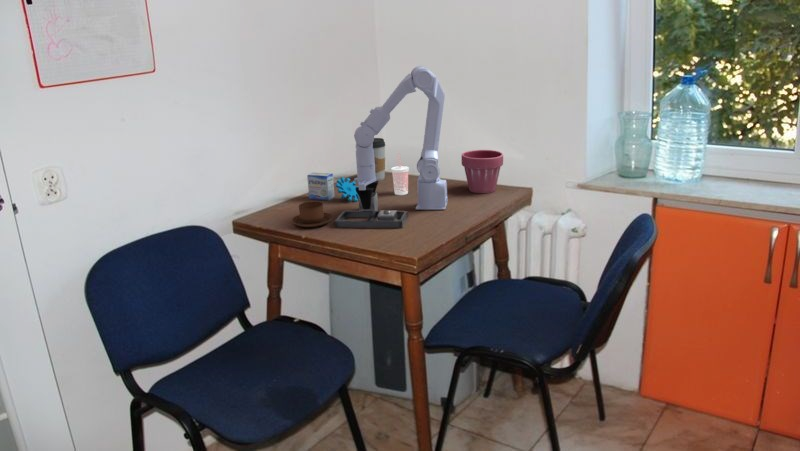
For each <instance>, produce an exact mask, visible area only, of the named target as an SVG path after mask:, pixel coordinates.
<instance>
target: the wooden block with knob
mask: <svg viewBox="0 0 800 451" xmlns="http://www.w3.org/2000/svg"><path fill="white" fill-rule="evenodd" d="M379 211H380V212H379V214H378V218H377V221H398V218H397V211H398V210H391V209H389V210H388V209H386V210H382V209H381V210H379Z"/></svg>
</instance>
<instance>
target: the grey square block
mask: <svg viewBox="0 0 800 451" xmlns="http://www.w3.org/2000/svg"><path fill="white" fill-rule="evenodd" d="M358 198H359V200H358V211H379V210H378V209H379V203H378V202H379V200H378V192H372V196H371V206H370V209H363V207H362V203H361V200H360V197H358Z"/></svg>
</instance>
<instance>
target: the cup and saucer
mask: <svg viewBox="0 0 800 451" xmlns="http://www.w3.org/2000/svg"><path fill="white" fill-rule="evenodd" d="M298 211H299V212H298V213H299V215H298V214H297V215H296V216H294V217H292V223H294V225H296V226H298V227H302V228H316V227H321V226H324V225H326V224H328V223H329V222H330V221H331V220H332V215H331V214H330V213H327V212H324V203H323V202H321V201H317V200H316V201H315V200H314V201H306V202H303V203H302V202H301V203H300V204H299V205H298Z"/></svg>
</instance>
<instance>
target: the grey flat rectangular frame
mask: <svg viewBox="0 0 800 451" xmlns="http://www.w3.org/2000/svg"><path fill="white" fill-rule="evenodd" d="M380 211H381V210H377V211H359V210H343V211H342V212H341V213H340V214H339V215H338V216H337V218H336V219H335V220H334V227H335V228H336V229H337V228H338V229H339V228H346V229H347V228H349V229H350V228H353V229H354V228H355V229H357V228H358V229H359V228H362V229H364V228H366V229H372V228H373V229H374V228H375V229H377V228H378V229H384V228H385V229H403V227H404V225H405V224H406V221H407V220H408V218H409V214H408V213H409V211H408V210H397V219H399V220H397V221H378V220H376V219H378V214H379V212H380ZM348 218H350V219H351V220H349V219H348ZM353 218H354V219H357V218H359V219H362V218H363V219H365V218H366V219H367V220H352V219H353ZM345 219H346V220H345Z"/></svg>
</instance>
